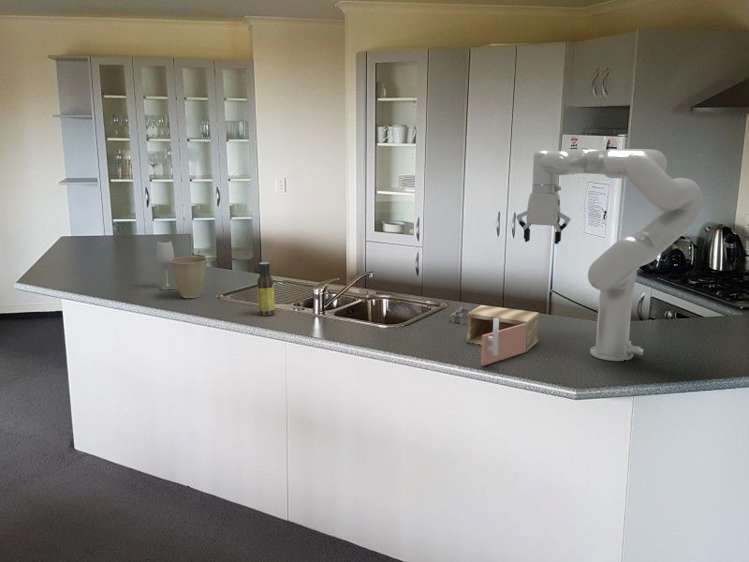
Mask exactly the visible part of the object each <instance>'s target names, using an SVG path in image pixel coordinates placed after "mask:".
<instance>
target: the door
mask: <svg viewBox="0 0 749 562" xmlns="http://www.w3.org/2000/svg"><path fill="white" fill-rule="evenodd" d="M527 337H528V323H524V324H521V325H517V326H513V327H510V328H506V329H503V330H499V318H494V319H493V332H492V333H488V334H485V335H482V345H481V355H480V358H481V359H480V366H486V365H490V364H493V363H495V362H499V361H502V360H506V359H508V358H511V357H515V356H518V355H520V354H521V355H522V354H524V353H527V352H528V351H527Z"/></svg>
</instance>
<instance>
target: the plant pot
mask: <svg viewBox="0 0 749 562" xmlns="http://www.w3.org/2000/svg"><path fill="white" fill-rule="evenodd" d="M170 263H171V265H170V266H171V270H172V271H171V273H172V276H173V279H174V282H175V284H176V289H177V290H178V292H179V294H180V295H179V296H186V297H190V296H198V295H200V294H202V291H203V287H204V284H205V280H206V274H207V267H208V266H207V265H208V258H207V257H203V256H182V257H181V256H180V257H174V259H172V260H170ZM200 296H201V295H200Z"/></svg>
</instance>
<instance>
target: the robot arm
mask: <svg viewBox="0 0 749 562" xmlns="http://www.w3.org/2000/svg"><path fill="white" fill-rule="evenodd" d="M667 162H668V160H667V157H666V156H665V154H664V153H663V152H661V151H660V150H657V149H652V148H651V149H649V148H648V149H647V148H642V149H641V148H608V149H565V150H558V151H557V150H552V149H540V150H536V151H535V152H534V154H533V165H532V167H533V168H532V190H531V191H532V192H531V193H530V194H529V196H528V202H527V206H526V207H527V208H526V211H523V212H522V213H519V214H517V215H516V216H515V217H516V219H517V223H518V224H519V225H520V226H521V227H522V229H523V239H524V242H525V243H527V242H529V241H530V240H531V229H530V227H531V226H532V225H533V226H534V225H535V226H536V225H537V226H553V227H554V229H555V232H554V245H558V244H559V243H560V242H562V241H561V240H562V231H563V230H564V229H565V228H566V227H568V225H569V223H570V221H571V219H572V218H571V217H569V216H567V215H565V214H564V213H563V212H561V198H560V193H557V192H558V191H560V192H561V190H562V186H559V185H558V176H559V175H560V176H569V175H574V174H575V175H577V174H587V175H588V174H589V175H590V174H592V175H593V174H594V175H604V176H606V177H607V178H609V179H625V180H627V179H628V180H629V181H630V183H631V184H632V185H633V186H634V187H635V188H636V190H638V191H639V192H640V193H641V194H642V196H644V197H645V199H646V200H648V202H649V203H650V204H651V205H652V206H653V207H655V208H656V209H658V210H659V211H662V212H661V213H660V214H658V215H657V216H656V217H654V219H652V221H650V223H649V224H647V225H646V226H645V227H643V228H642V229H641V230H640V231H638V232H635V233H632V234H628V235H625V236H623V237H621V238H620V239H619V240H617V241H616V242H614V244H612V245H611V246H609V247H608V249H606V251H604V252H603V253H602V254H601V255H600V256H598V257H597V258H596V259H595V260H594V261H593V262H592V263H591V264H590V266H589V268H588V272H587V280H588V283H589V284H590V285H591V287H593V288H594V289H596V290H598V291H599V296H598V307H597V320H596V321H597V322H596V323H597V324H596V338H595V346H592V347H591V348H590V350H589V354H590V355H591V356H592V357H594V358H597V359H599V360H604V361H610V362H624V360H626V361H629V360H631V359H633V358H634V354H635V355H638V356H639V355H640V356H643V354H644V348H641V346H638V345H637V346H636V345H633V344H632V340H630V330H631V318H632V317H631V315H632V304H633V295H634V294H633V293H634V290H635V283H636V281H637V273H638V271H637V270H638V269H639V268H640V267H642V266H645V265H648V264H650V263H653V262H654V260H655V259H657V258H658V257H659V256H660V255H661V254H662V253H663V252H665V251H666V250H667V249H668V248H669V247H670V246H672V245H673V244H674V243H675V242H676V241H678V239H680V238H681V237H682V236H683V235H684V234H686V232H688V230H689V229H690V228H691V227H692V226H693V225H694V224H695V223H696V221H697V220H698V218H699V216H700V214H701V212H702V207H703V194H702V191H701V188H700V186H699V185H698V184H697V182H695V181H694V180H692V179H690V178H686V177H676V178H672V177H670V175H668V174H667V172H666V169H667V166H668V165H667V164H668V163H667ZM523 217H526V222H525V221H524V220H523ZM561 219H562V220H564V221H563V224H560V222H561Z"/></svg>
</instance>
